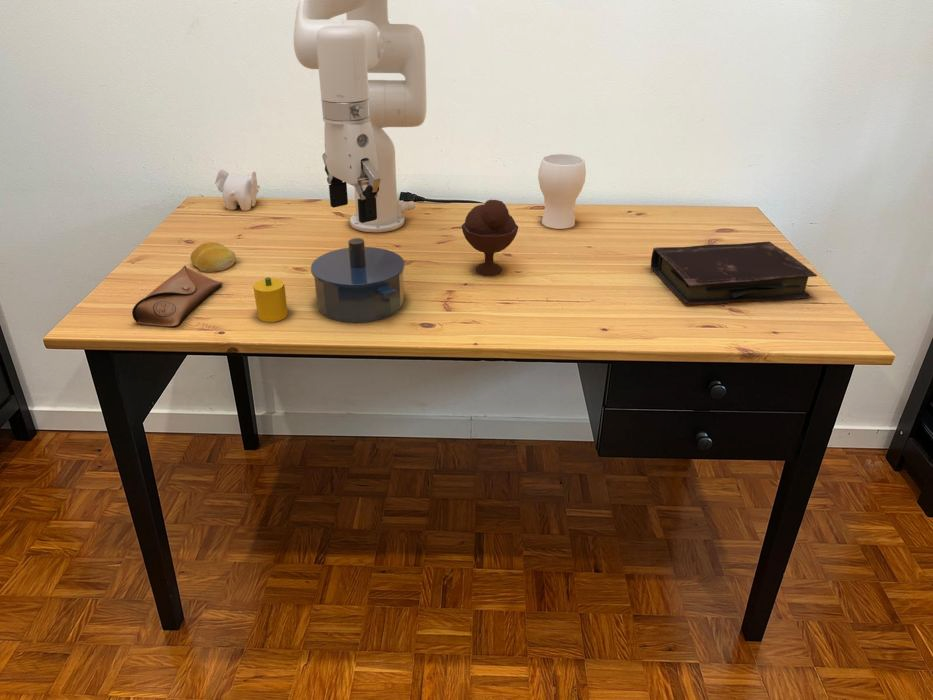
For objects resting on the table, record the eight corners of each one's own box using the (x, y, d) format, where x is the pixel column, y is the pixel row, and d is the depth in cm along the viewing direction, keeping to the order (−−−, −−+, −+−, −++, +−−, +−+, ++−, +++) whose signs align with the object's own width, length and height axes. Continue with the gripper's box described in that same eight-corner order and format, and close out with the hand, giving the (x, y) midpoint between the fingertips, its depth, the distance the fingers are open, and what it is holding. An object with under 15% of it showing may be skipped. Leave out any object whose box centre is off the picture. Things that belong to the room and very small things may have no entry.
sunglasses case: (179, 325, 124) (153, 293, 122) (150, 340, 127) (125, 310, 124) (225, 281, 139) (203, 252, 137) (199, 296, 142) (177, 267, 140)
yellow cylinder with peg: (280, 305, 132) (275, 269, 128) (293, 316, 129) (288, 279, 125) (253, 313, 129) (247, 277, 126) (265, 325, 126) (259, 287, 122)
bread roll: (205, 276, 143) (201, 257, 141) (186, 262, 148) (183, 244, 146) (244, 265, 147) (241, 247, 145) (225, 252, 153) (221, 234, 151)
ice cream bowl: (521, 263, 149) (525, 192, 142) (506, 285, 140) (509, 211, 133) (472, 256, 152) (473, 186, 145) (454, 277, 143) (454, 204, 136)
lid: (373, 245, 140) (372, 217, 137) (422, 274, 129) (422, 244, 126) (295, 266, 131) (291, 237, 129) (340, 299, 120) (337, 268, 117)
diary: (649, 267, 148) (652, 244, 146) (762, 260, 152) (768, 238, 149) (686, 309, 132) (691, 284, 130) (812, 300, 136) (819, 276, 133)
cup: (588, 221, 171) (594, 157, 163) (568, 234, 163) (574, 169, 156) (548, 212, 176) (552, 150, 168) (527, 225, 168) (530, 161, 161)
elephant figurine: (271, 198, 183) (267, 164, 178) (251, 215, 173) (245, 178, 168) (236, 196, 184) (230, 161, 180) (213, 212, 174) (207, 176, 169)
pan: (367, 273, 145) (365, 240, 141) (428, 312, 130) (427, 276, 127) (296, 293, 136) (291, 259, 133) (352, 337, 122) (349, 300, 119)
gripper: (395, 117, 112) (399, 222, 121) (340, 99, 124) (347, 196, 132) (352, 123, 108) (360, 232, 117) (300, 104, 120) (310, 204, 128)
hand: (353, 213), depth 125 cm, fingers open, 9 cm apart
